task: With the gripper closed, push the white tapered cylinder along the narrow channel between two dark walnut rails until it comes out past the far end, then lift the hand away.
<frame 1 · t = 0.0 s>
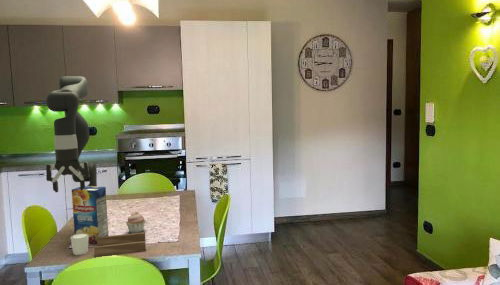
hand: (69, 190, 146), 29 cm above the table, tool pointing down, fingers open, 8 cm apart
white tapered cylinder: (80, 252, 165), on the table
cupcake: (136, 231, 190), on the table
walnut channel: (121, 247, 169), on the table
juice carton: (92, 241, 178), on the table
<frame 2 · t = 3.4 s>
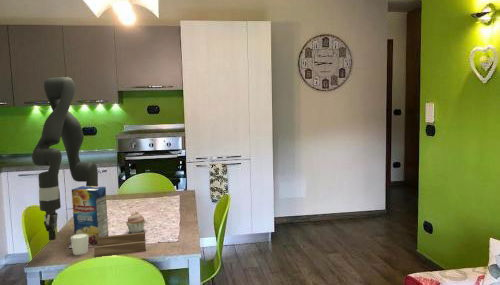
hand: (52, 239, 161), 7 cm above the table, tool pointing down, fingers closed
nothing on the table moved.
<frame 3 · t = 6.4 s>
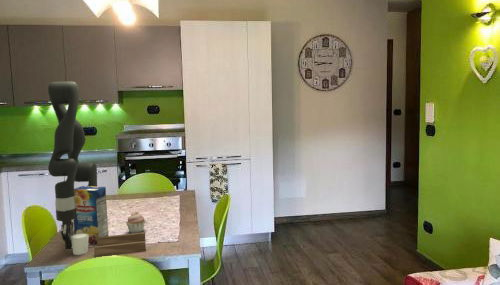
hand: (68, 248, 163), 2 cm above the table, tool pointing down, fingers closed
white tapered cylinder: (80, 252, 165), on the table, touching gripper
everything else where it was.
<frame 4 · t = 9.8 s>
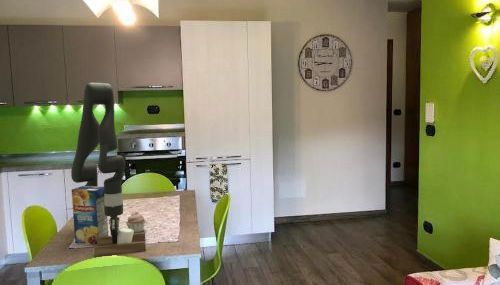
hand: (115, 243, 168), 2 cm above the table, tool pointing down, fingers closed
white tapered cylinder: (123, 246, 169), on the table, touching gripper
everything else where it was.
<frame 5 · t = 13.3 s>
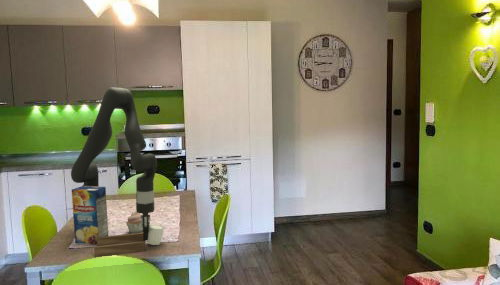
hand: (146, 239, 171), 2 cm above the table, tool pointing down, fingers closed
white tapered cylinder: (153, 243, 172), on the table, touching gripper
everything else where it was.
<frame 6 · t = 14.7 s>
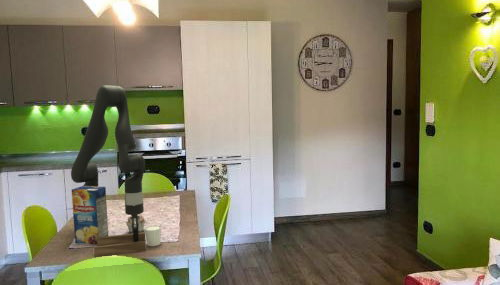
hand: (136, 241, 171), 2 cm above the table, tool pointing down, fingers closed
white tapered cylinder: (153, 244, 173), on the table
everything else where it was.
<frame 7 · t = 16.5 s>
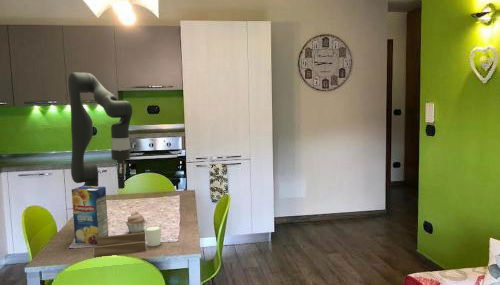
hand: (121, 188, 171), 25 cm above the table, tool pointing down, fingers closed
nothing on the table moved.
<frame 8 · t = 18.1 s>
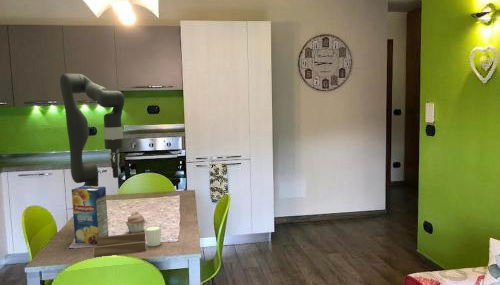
hand: (115, 177, 172), 29 cm above the table, tool pointing down, fingers closed
nothing on the table moved.
at the end: white tapered cylinder inside the target area (3.5 cm from its centre), on the table; white tapered cylinder tilted 0°; white tapered cylinder moved 29.5 cm from its start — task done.
